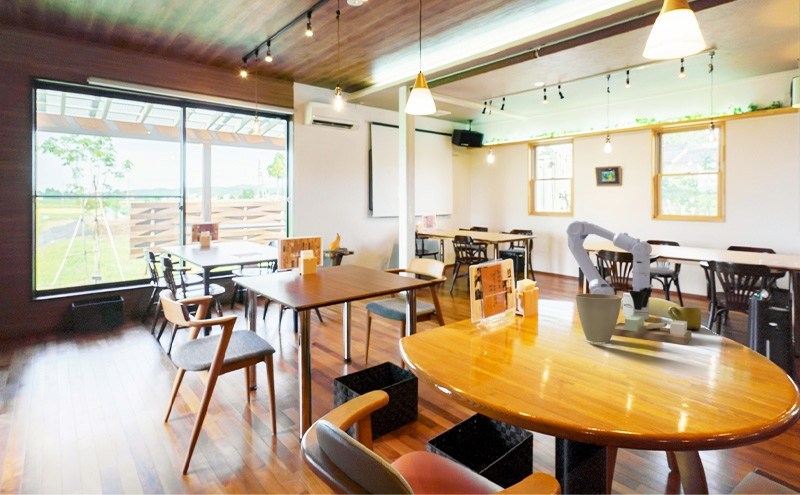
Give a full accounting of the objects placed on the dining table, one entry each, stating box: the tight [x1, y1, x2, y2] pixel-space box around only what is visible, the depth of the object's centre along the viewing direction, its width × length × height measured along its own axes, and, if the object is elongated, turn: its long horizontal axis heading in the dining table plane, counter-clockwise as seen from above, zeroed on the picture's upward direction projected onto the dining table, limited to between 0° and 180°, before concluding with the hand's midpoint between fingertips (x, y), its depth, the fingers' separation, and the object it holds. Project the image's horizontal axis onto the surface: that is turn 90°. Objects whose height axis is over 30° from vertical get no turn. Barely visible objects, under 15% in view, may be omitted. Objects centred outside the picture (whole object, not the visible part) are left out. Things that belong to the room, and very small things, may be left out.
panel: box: [612, 322, 693, 346], centre depth 160 cm, size 24×14×4 cm, turn 50°
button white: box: [669, 320, 688, 336], centre depth 153 cm, size 4×8×4 cm, turn 140°
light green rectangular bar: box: [624, 315, 645, 331], centre depth 162 cm, size 4×12×4 cm, turn 140°
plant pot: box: [575, 293, 623, 344], centre depth 152 cm, size 15×15×16 cm
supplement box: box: [622, 292, 650, 321], centre depth 185 cm, size 7×7×13 cm
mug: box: [667, 306, 702, 331], centre depth 169 cm, size 12×10×10 cm
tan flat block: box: [645, 321, 668, 329], centre depth 158 cm, size 6×5×1 cm
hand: (640, 308), depth 165 cm, fingers open, 7 cm apart
